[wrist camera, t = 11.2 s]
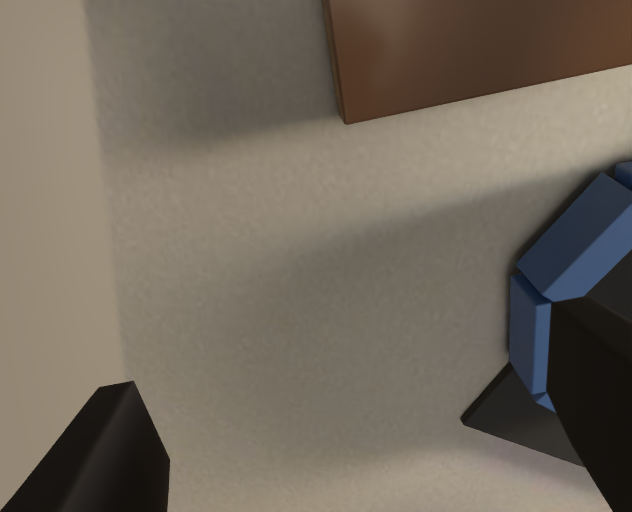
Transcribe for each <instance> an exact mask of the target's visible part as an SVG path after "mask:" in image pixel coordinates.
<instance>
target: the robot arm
mask: <svg viewBox="0 0 632 512" xmlns="http://www.w3.org/2000/svg"><path fill="white" fill-rule="evenodd" d="M546 391H547V394H548V396H549V398H550V400H551V402H552V405H553V407H554V409H555V411H556V414H557V416H558V418H559V420H560V422H561V424H562V426H563V428H564V431H565V433H566V435H567V437H568V439H569V441H570V443H571V445H572V446H573V448H574V450H575V451H576V453H577V455H578V456H579V458H580V460H581V461H582V463H583V464H584V466H585V468H586V469H587V471H588V472H589V474H590V476H591V477H592V479H593V481H594V482H595V484H596V485H597V487H598V489H599V490H600V492H601V493H602V495H603V497H604V498H605V500H606V501H607V503H608V504H609V506H610V508H611V509H612V511H613V512H632V321H631V320H629V319H627V318H625V317H624V316H622V315H620V314H619V313H617V312H615V311H613V310H612V309H610V308H608V307H607V306H605V305H603V304H601V303H599V302H598V301H596V300H594V299H592V298H590V297H588V296H583V297H578V298H572V299H567V300H562V301H556V302H551V313H550V330H549V347H548V364H547V380H546ZM169 471H170V459H169V456H168V454H167V452H166V450H165V448H164V446H163V443H162V441H161V439H160V437H159V435H158V432H157V430H156V428H155V426H154V424H153V422H152V419H151V417H150V415H149V413H148V411H147V409H146V406H145V404H144V402H143V400H142V398H141V395H140V393H139V391H138V389H137V387H136V385H135V382H134V381H130V382H124V383H119V384H114V385H109V386H103V387H99V388H98V389H97V390H96V391H95V393H94V394H93V395H92V396H91V397H90V399H89V400H88V401H87V403H86V404H85V405H84V406H83V408H82V409H81V410H80V411H79V413H78V414H77V415H76V417H75V418H74V419H73V420H72V422H71V423H70V424H69V426H68V427H67V428H66V429H65V431H64V432H63V434H62V435H61V436H60V437H59V439H58V440H57V441H56V442H55V444H54V445H53V446H52V448H51V449H50V450H49V451H48V453H47V454H46V455H45V457H44V458H43V459H42V460H41V461H40V463H39V464H38V465H37V466H36V468H35V469H34V470H33V471H32V473H31V474H30V475H29V476H28V478H27V479H26V480H25V482H24V483H23V484H22V485H21V487H20V488H19V489H18V490H17V492H16V493H15V494H14V495H13V497H12V498H11V499H10V500H9V501H8V502H7V504H6V505H5V506H4V507H3V508H2V509H1V511H0V512H167V506H168V492H169Z"/></svg>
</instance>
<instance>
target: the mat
mask: <svg viewBox="0 0 632 512" xmlns="http://www.w3.org/2000/svg"><path fill="white" fill-rule="evenodd" d="M584 296H588V297H590V298H592V299H594V300H596V301H598V302H599V303H601V304H603V305H605V306H607V307H608V308H610V309H612V310H613V311H615V312H617V313H619V314H620V315H622V316H624V317H625V318H627V319H629V320H631V321H632V249H631V250H630V251H629V252H628V253H627V254H626V255H625V256H624V257H623V258H622V259H621V260H620V261H619V262H618V263H617V264H616V265H615V266H614V267H613V268H612V269H611V270H610V271H609V272H608V273H607V274H606V275H605V276H604V277H602V278H601V279H600V280H599V281H598V282H597V283H596V284H595V285H594V286H593V287H592V288H591V289H590V290H589V291H588V292H587V293H586V294H585V295H584ZM461 421H462V423H463V425H465V426H468V427H471V428H474V429H477V430H479V431H482V432H485V433H488V434H491V435H494V436H497V437H499V438H502V439H505V440H508V441H511V442H514V443H517V444H519V445H522V446H525V447H528V448H531V449H534V450H537V451H539V452H542V453H545V454H548V455H551V456H554V457H556V458H559V459H562V460H565V461H568V462H571V463H574V464H576V465H579V466H582V467H585V466H584V464H583V463H582V461H581V460H580V458H579V456H578V455H577V453H576V451H575V450H574V448H573V446H572V445H571V443H570V441H569V439H568V437H567V435H566V433H565V431H564V428H563V426H562V424H561V422H560V420H559V418H558V416H557V414H556V413H555V412H553V411H552V410H550V409H548V408H546V407H544V406H542V405H540V404H538V403H536V401H535V400H534V398H533V397H532V395H531V394H530V392H529V391H528V389H527V388H526V386H525V385H524V383H523V382H522V380H521V379H520V377H519V375H518V374H517V372H516V371H515V369H514V367H513V365H512V364H511V362H510V363H509V364H508V365H507V367H506V368H505V369H504V370H503V371H502V372H501V373H500V374H499V376H498V377H497V378H496V379H495V380H494V381H493V382H492V383H491V385H490V386H489V387H488V388H487V389H486V390H485V391H484V392H483V394H482V395H481V396H480V397H479V398H478V399H477V400H476V401H475V403H474V404H473V405H472V406H471V407H470V408H469V409H468V410H467V412H466V413H465V414H464V415H463V416H462V417H461Z"/></svg>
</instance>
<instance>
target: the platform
mask: <svg viewBox="0 0 632 512" xmlns="http://www.w3.org/2000/svg"><path fill="white" fill-rule="evenodd" d="M322 6H323V13H324V20H325V26H326V33H327V40H328V46H329V53H330V60H331V66H332V73H333V80H334V86H335V93H336V100H337V106H338V113H339V115H340V117H341V119H342V120H343V122H344V124H346V125H348V124H353V123H358V122H362V121H367V120H372V119H376V118H381V117H386V116H391V115H395V114H400V113H405V112H409V111H414V110H419V109H423V108H428V107H433V106H438V105H442V104H447V103H452V102H456V101H461V100H466V99H471V98H475V97H480V96H485V95H489V94H494V93H499V92H504V91H508V90H513V89H518V88H522V87H527V86H532V85H536V84H541V83H546V82H551V81H555V80H560V79H565V78H569V77H574V76H579V75H584V74H588V73H593V72H598V71H602V70H607V69H612V68H617V67H621V66H626V65H631V64H632V0H322Z"/></svg>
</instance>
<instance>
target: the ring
mask: <svg viewBox="0 0 632 512" xmlns="http://www.w3.org/2000/svg"><path fill="white" fill-rule="evenodd" d="M631 249H632V161H630V162H625V163H620V164H617V165H616V171H615V179H612V178H611V177H609V176H608V175H606V174H605V173H601V174H600V175H599V176H598V177H597V178H596V179H595V180H594V181H593V182H592V183H591V184H590V185H589V186H588V187H587V189H586V190H585V191H584V192H583V193H582V194H581V195H580V196H579V197H578V198H577V199H576V200H575V201H574V202H573V203H572V204H571V206H570V207H569V208H568V209H567V210H566V211H565V212H564V213H563V214H562V215H561V216H560V217H559V218H558V219H557V220H556V222H555V223H554V224H553V225H552V226H551V227H550V228H549V229H548V230H547V231H546V232H545V233H544V234H543V235H542V236H541V238H540V239H539V240H538V241H537V242H536V243H535V244H534V245H533V246H532V247H531V248H530V249H529V250H528V251H527V252H526V253H525V255H524V256H523V257H522V258H521V259H520V260H519V261H518V262H517V263H516V265H517V267H518V268H519V269H520V270H521V271H522V272H523V273H521V274H517V275H513V276H511V282H510V346H509V361H510V362H511V364H512V365H513V367H514V369H515V371H516V372H517V374H518V375H519V377H520V379H521V380H522V382H523V383H524V385H525V386H526V388H527V389H528V391H529V392H530V394H531V395H532V397H533V398H534V400H535V401H536V403H538V404H540V405H542V406H544V407H546V408H548V409H550V410H552V411H553V412H555V413H556V411H555V409H554V407H553V405H552V402H551V400H550V398H549V396H548V394H547V391H546V380H547V364H548V347H549V330H550V313H551V302H556V301H562V300H567V299H572V298H578V297H583V296H584V295H585V294H586V293H587V292H588V291H589V290H590V289H591V288H592V287H593V286H594V285H595V284H596V283H597V282H598V281H599V280H600V279H601V278H602V277H604V276H605V275H606V274H607V273H608V272H609V271H610V270H611V269H612V268H613V267H614V266H615V265H616V264H617V263H618V262H619V261H620V260H621V259H622V258H623V257H624V256H625V255H626V254H627V253H628V252H629V251H630V250H631Z"/></svg>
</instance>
